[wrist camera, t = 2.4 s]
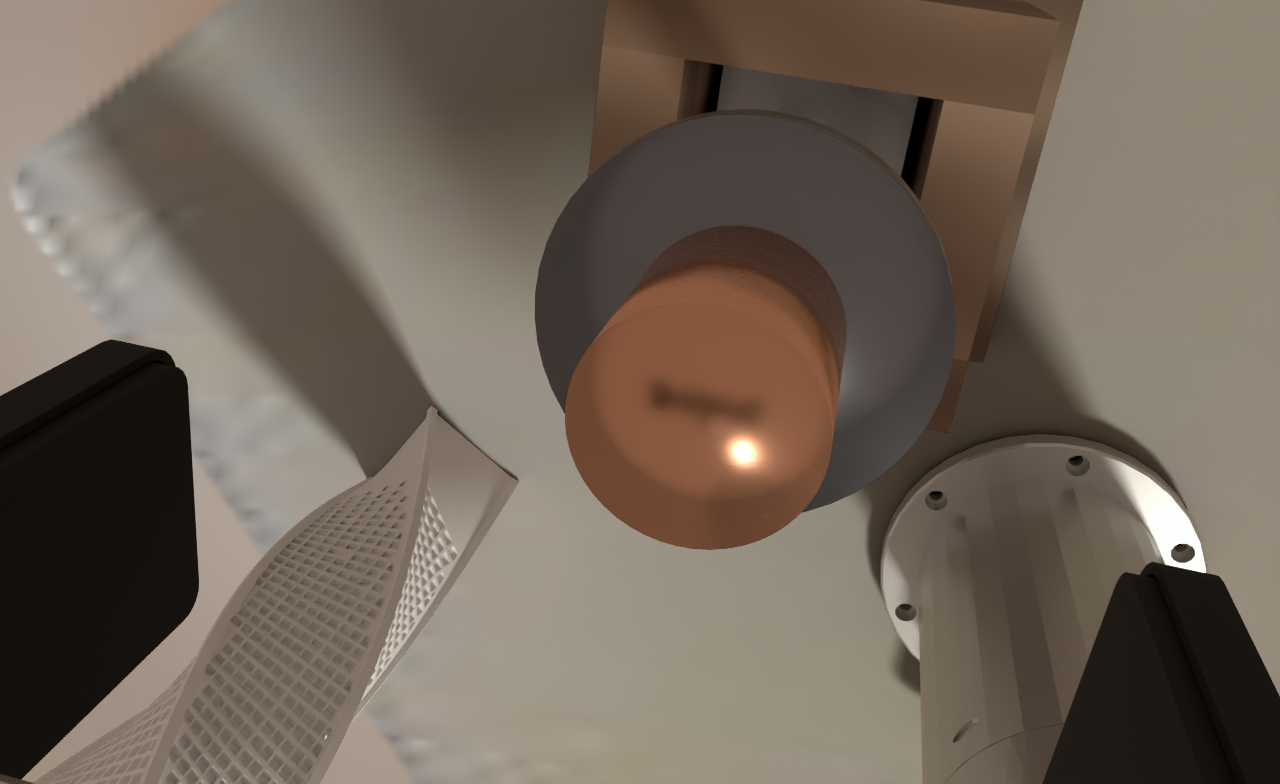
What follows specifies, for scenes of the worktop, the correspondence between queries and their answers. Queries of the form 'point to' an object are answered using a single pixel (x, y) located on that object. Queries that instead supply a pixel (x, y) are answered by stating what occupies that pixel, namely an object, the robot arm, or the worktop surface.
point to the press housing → (884, 60)
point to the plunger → (747, 311)
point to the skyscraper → (313, 628)
